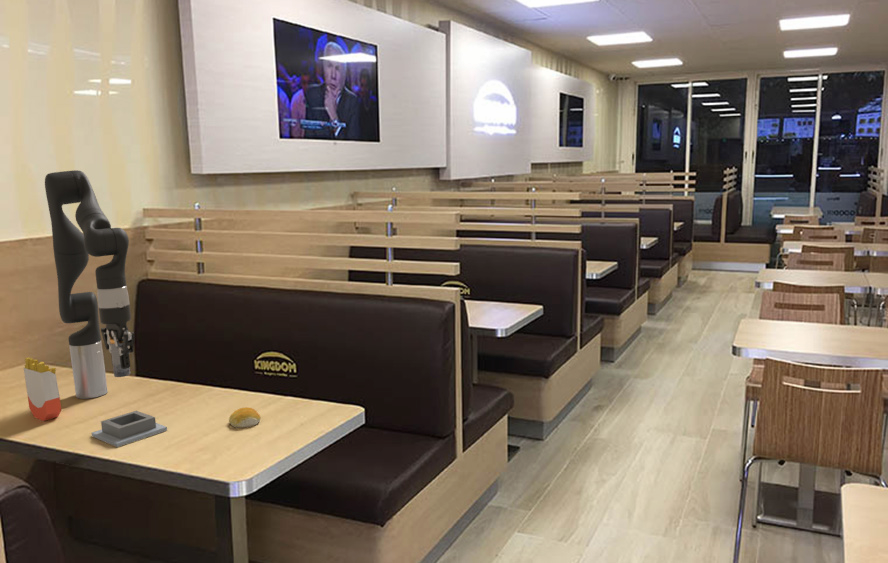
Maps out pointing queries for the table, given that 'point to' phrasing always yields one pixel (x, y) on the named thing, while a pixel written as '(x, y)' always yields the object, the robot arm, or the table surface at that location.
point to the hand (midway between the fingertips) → (121, 366)
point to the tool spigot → (117, 361)
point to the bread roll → (244, 418)
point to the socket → (128, 428)
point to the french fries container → (42, 390)
